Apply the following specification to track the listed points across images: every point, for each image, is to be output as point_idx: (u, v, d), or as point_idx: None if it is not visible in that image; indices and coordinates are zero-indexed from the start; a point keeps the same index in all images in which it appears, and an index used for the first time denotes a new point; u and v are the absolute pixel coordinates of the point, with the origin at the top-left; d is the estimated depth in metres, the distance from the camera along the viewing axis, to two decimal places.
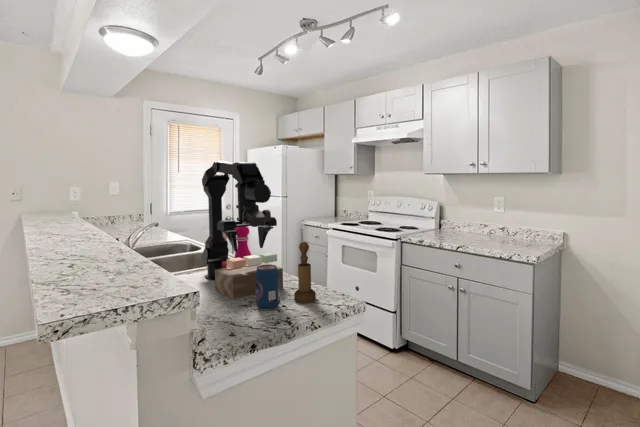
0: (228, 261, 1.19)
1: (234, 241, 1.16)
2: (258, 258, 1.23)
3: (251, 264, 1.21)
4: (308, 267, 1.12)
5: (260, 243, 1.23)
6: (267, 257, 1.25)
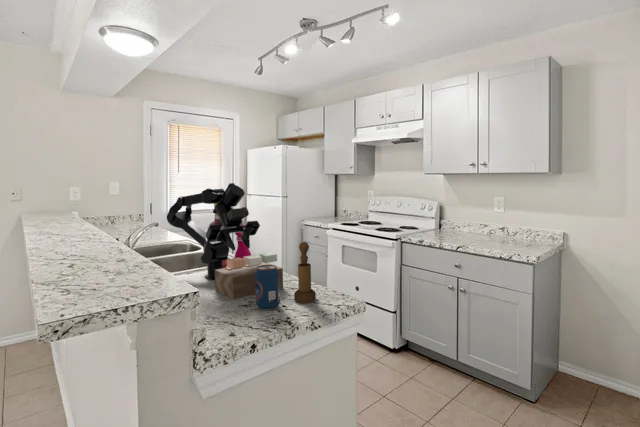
0: (228, 261, 1.19)
1: (229, 239, 1.27)
2: (258, 258, 1.23)
3: (251, 264, 1.21)
4: (308, 267, 1.12)
5: (246, 244, 1.31)
6: (267, 257, 1.25)
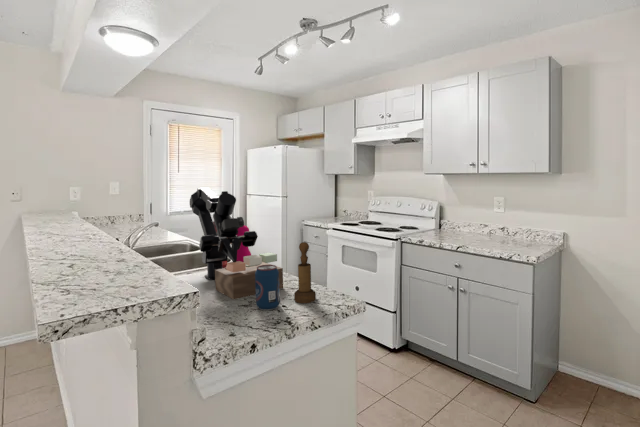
0: (228, 265, 1.20)
1: (230, 250, 1.22)
2: (258, 258, 1.23)
3: (251, 264, 1.21)
4: (308, 267, 1.12)
5: None
6: (267, 257, 1.25)
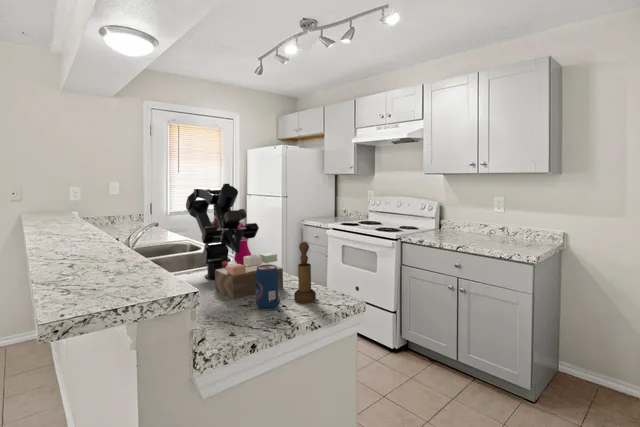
0: (228, 268, 1.20)
1: (232, 242, 1.23)
2: (258, 258, 1.23)
3: (251, 264, 1.21)
4: (308, 267, 1.12)
5: None
6: (267, 257, 1.25)
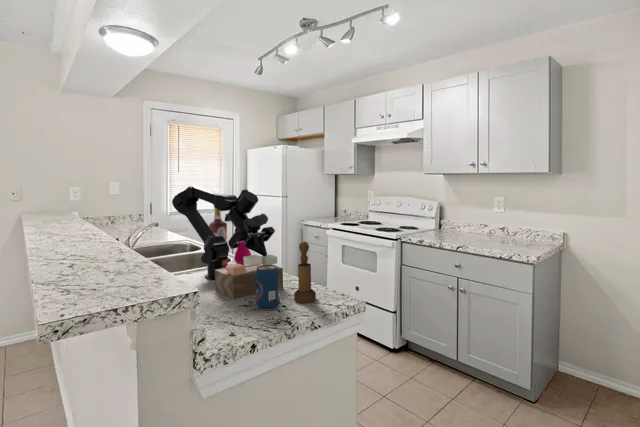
0: (228, 268, 1.20)
1: (259, 245, 1.28)
2: (258, 258, 1.23)
3: (251, 264, 1.21)
4: (308, 267, 1.12)
5: None
6: (267, 259, 1.25)
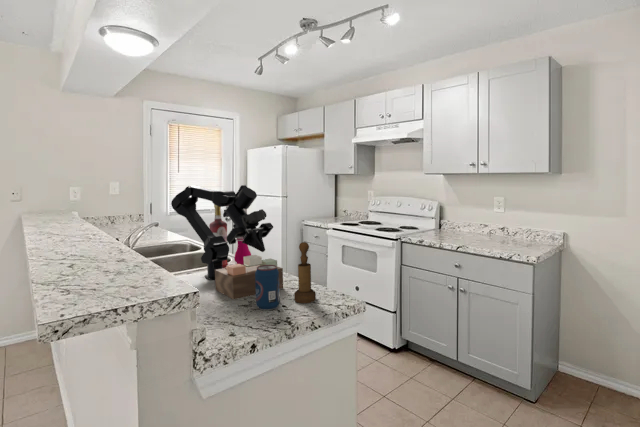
0: (228, 268, 1.20)
1: (257, 241, 1.28)
2: (258, 258, 1.23)
3: (251, 264, 1.21)
4: (308, 267, 1.12)
5: None
6: (267, 263, 1.25)
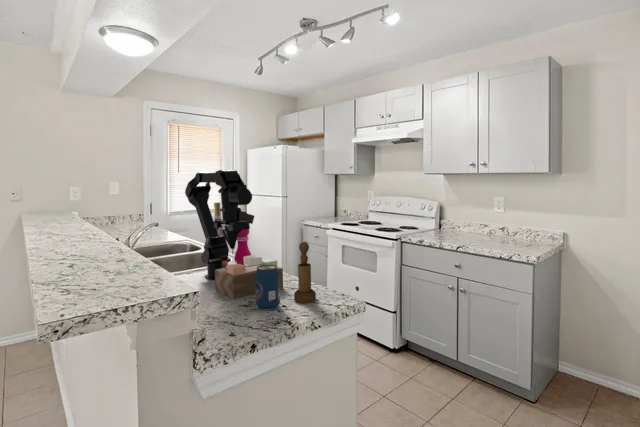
0: (228, 268, 1.20)
1: None
2: (258, 258, 1.23)
3: (251, 264, 1.21)
4: (308, 267, 1.12)
5: None
6: (267, 263, 1.25)
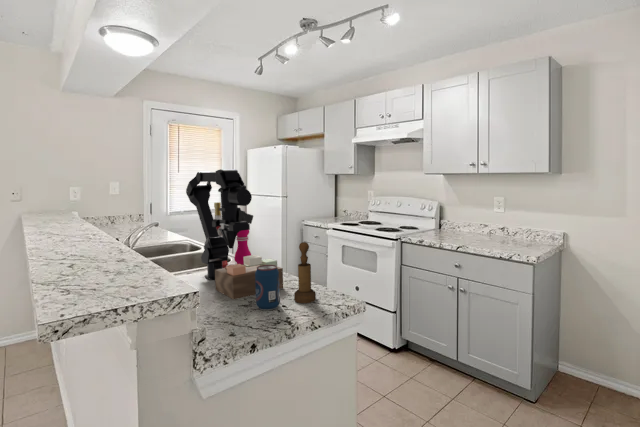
0: (228, 268, 1.20)
1: None
2: (258, 258, 1.23)
3: (251, 264, 1.21)
4: (308, 267, 1.12)
5: None
6: (267, 263, 1.25)
